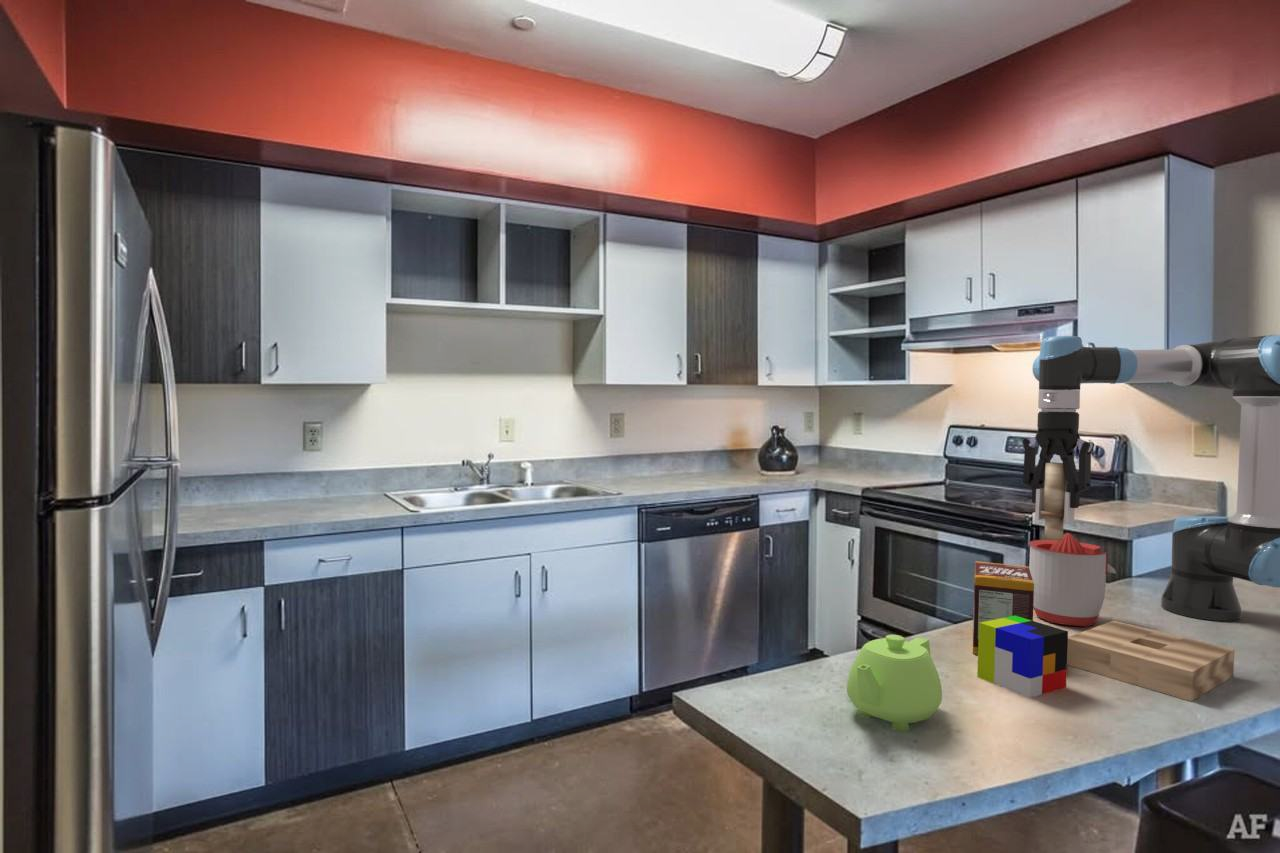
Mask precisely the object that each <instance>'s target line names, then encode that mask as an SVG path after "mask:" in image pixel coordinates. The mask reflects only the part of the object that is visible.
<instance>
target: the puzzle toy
mask: <svg viewBox="0 0 1280 853" xmlns="http://www.w3.org/2000/svg"><path fill="white" fill-rule="evenodd" d="M1068 637H1069V631H1068V630H1065V629H1061V628H1060V627H1055V626H1052V625H1049V624H1044V623H1042V622H1038V621H1035V620H1033V621H1032V620H1028V619H1025V618H1022V617H1018V616H1010V617H1005V618H1000V619H995V620H990V621H985V622H980V623H979V642H978V655H977V674H976V676H977V678H978V679H982V680H984V681H986V682H989V683H991V684H994V685H997V686H999V687H1000V688H1004V689H1006V690H1009V691H1011V692H1014V693H1017V694H1018V695H1021V696H1024V697H1027V698H1030V699H1031V698H1034V697H1038V696H1042V695H1044V694H1047V693H1048V694H1049V693H1051V692H1055V691H1058V690H1061V689H1066V688H1067V674H1068V673H1067V671H1068V665H1067V647H1068Z"/></svg>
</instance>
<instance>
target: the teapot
mask: <svg viewBox="0 0 1280 853" xmlns="http://www.w3.org/2000/svg"><path fill="white" fill-rule="evenodd" d="M931 653H932V652H931V648H930V639H927V638H924V637H920V636H917V637H915V638H913V639H911V640H910V641H907V640H906V638H905V637H903V636H902V635H897V634H888V635H885V637H883V638H877V639H873V640H870V641H868V642H866V643H864V645H862V647H861V648H860V650H859V652H858V654H857V656H856V657H855V659H854V661H853V663H852V666H851V668H850V671H849V673H848V677H847V678H848V679H847V683H846V694H847V696H848V699H850V701H851V703H852V704H853V705H854V707H855V708H856V709H857V710H858V711H857V712H856V715H858V716H859V717H861V718H867V719H869V718H873V717H876V718H878V719H880V720H884V721H887V722H890V723H891V724H892V725H891V727H892V729H893V730H895V731H897V732H901V733H906V732H909V731H911V728H910V726H909V725H910V724H912V723H913V724H914V723H917V722H918V723H919V722H922V721H930V719H931V716H932V715H933V714H934V713H935V712H936V711H937V709H938V708H939V707H940V705H941V704H942V700H943V691H942V683H941V679H940V675H939V673H938V669H937V667H936V665H935V663H934V661H933V659H932V656H931V655H932V654H931Z"/></svg>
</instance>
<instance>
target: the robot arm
mask: <svg viewBox="0 0 1280 853" xmlns="http://www.w3.org/2000/svg"><path fill="white" fill-rule="evenodd" d="M1031 369H1032V374H1033V375H1032V376H1034V378H1035V380H1037V381H1038V402H1037V404H1038V405H1037V408H1038V409H1040V411H1038V413H1037V424H1036V425H1037V432H1036V434H1035V436H1034V437H1031V438H1023V439H1022V440H1021V441H1022V446H1023V448H1024V455H1023V456H1024V458H1023V472H1022V473H1023V474H1022V484H1024V485H1028V486H1029V487H1031V502H1032V504H1035V508H1034V509H1035V512H1034V515H1035V516H1034V520H1035V521H1036V520H1038V521H1040V520H1045V516H1044V515H1041V514H1040V510H1044V489H1045V485H1044V484H1045V463H1046V462H1051V460H1052V459H1053V457H1054V455H1056V456H1059V458H1060V460H1061V463H1063V466H1064V470H1065V475H1066V479H1067V486H1068V487H1067V488H1068V490H1067V489H1066V492H1065V507H1064V524H1063V525H1071V524H1075V510H1076V509H1077V508H1079V507H1080V498H1081V496H1080V494H1081V492H1084V491H1088V490H1090V489H1091V483H1092V482H1091V479H1092V478H1091V476H1092V474H1091V473H1092V472H1091V471H1092V452H1093V449H1094V447H1095V443H1094V442H1093V441H1087V440H1084V439H1082V438H1081V437H1080V435H1079V428H1080V413H1079V412H1077V410H1079V409H1080V408H1081V407H1080V406H1081V405H1080V404H1081V402H1080V401H1081V384H1110V385H1115V384H1123V383H1126V384H1127V383H1130V384H1131V383H1172V384H1174V385H1176V386H1180V387H1201V388H1211V389H1218V390H1232V399H1233V400H1235V401H1236V402H1237V403H1238V404H1239V405H1240V426H1239V428H1240V429H1239V448H1238V449H1239V450H1238V469H1237V470H1238V471H1237V473H1238V474H1237V493H1236V494H1237V495H1236V497H1237V498H1236V500H1237V501H1236V512H1235V513H1234V514H1233V515H1231V516H1213V515H1212V516H1205V515H1200V516H1199V515H1198V516H1197V515H1188V516H1187V515H1185V516H1179V517H1177V518H1176V519H1175V520H1174V522H1173V530H1172V531H1171V532H1172V533H1171V534H1172V537H1171V538H1172V542H1171V544H1172V545H1171V575H1170V578H1169V580H1168V582H1167V584H1166V587H1165V589H1164V590H1163V593H1162V595H1161V601H1160V606H1161V608H1163V609H1164V610H1165V611H1168V612H1171V613H1174V614H1178V615H1180V616H1185V617H1189V618H1194V619H1201V620H1209V621H1218V622H1234V621H1239V620H1241V618H1242V606H1241V604H1240V602H1239V598H1238V596H1237V595H1238V594H1237V592H1236V589H1235V586H1234V578H1235V579H1240V580H1243V581H1247V582H1251V583H1254V584H1256V585H1257V586H1266V587H1267V586H1268V587H1271V588H1277V589H1279V588H1280V334H1268V335H1259V336H1251V337H1241V338H1240V337H1239V338H1228V339H1220V340H1214V341H1210V342H1203V343H1195V344H1182V345H1180V344H1179V345H1178V346H1175V347H1174V348H1172V349H1169V348H1168V349H1129V348H1126V347H1118V346H1113V347H1112V346H1111V347H1107V346H1102V347H1101V346H1092V347H1091V346H1083V340H1082V337H1080V336H1078V335H1077V336H1075V335H1055V336H1054V335H1053V336H1048V337H1045V338H1043V339H1042V340H1041V343H1040V348H1039V355H1037V357H1036V358H1035V359H1034V360H1033V363H1032V368H1031ZM1038 445H1039V447H1040V448H1041V449H1040V452H1039V459H1038V463H1037V466H1036V456H1037V448H1036V447H1037V446H1038ZM1077 446H1078V447H1077ZM1076 447H1077V448H1078V450H1079V453H1078V471H1077V467H1076V463H1075V462H1076V461H1075V453H1074V449H1075V448H1076Z"/></svg>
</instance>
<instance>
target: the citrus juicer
mask: <svg viewBox="0 0 1280 853" xmlns="http://www.w3.org/2000/svg"><path fill="white" fill-rule="evenodd" d="M1028 545H1029V564H1028V565H1029V566H1028V567H1029V570H1030V573H1031V576H1032V579H1033V582H1034V604H1033V611H1034V613H1035V614H1036V617H1038V618H1040V619H1042V620H1044V621H1046V622H1047V621H1048V622H1047V623H1049V622H1051V623H1050V624H1060V625H1065V626H1074V627H1075V626H1077V627H1078V626H1079V627H1083V628H1084V627H1085V628H1086V627H1089V626H1093V625H1095V623H1096V621H1097V619H1098V618H1099V616H1100V612H1101V609H1102V607H1103V605H1104V602H1105V601H1104V600H1105V596H1106V595H1105V594H1106V580H1107V575H1108V573H1110V574H1113V575H1117V571H1116V569H1115V568H1114V567H1113V566H1111V565H1110V564H1109V563H1108V562H1109V561H1108V559H1109V552H1108V551H1106V552H1102V547H1101V546H1099V545H1096V544H1090V543H1085V542H1080V541H1079V540H1078V539H1077V538H1075V536H1073V535H1072V533H1069V532H1067V533H1063V540H1048V539H1035V540H1030V541H1029V542H1028Z"/></svg>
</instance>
